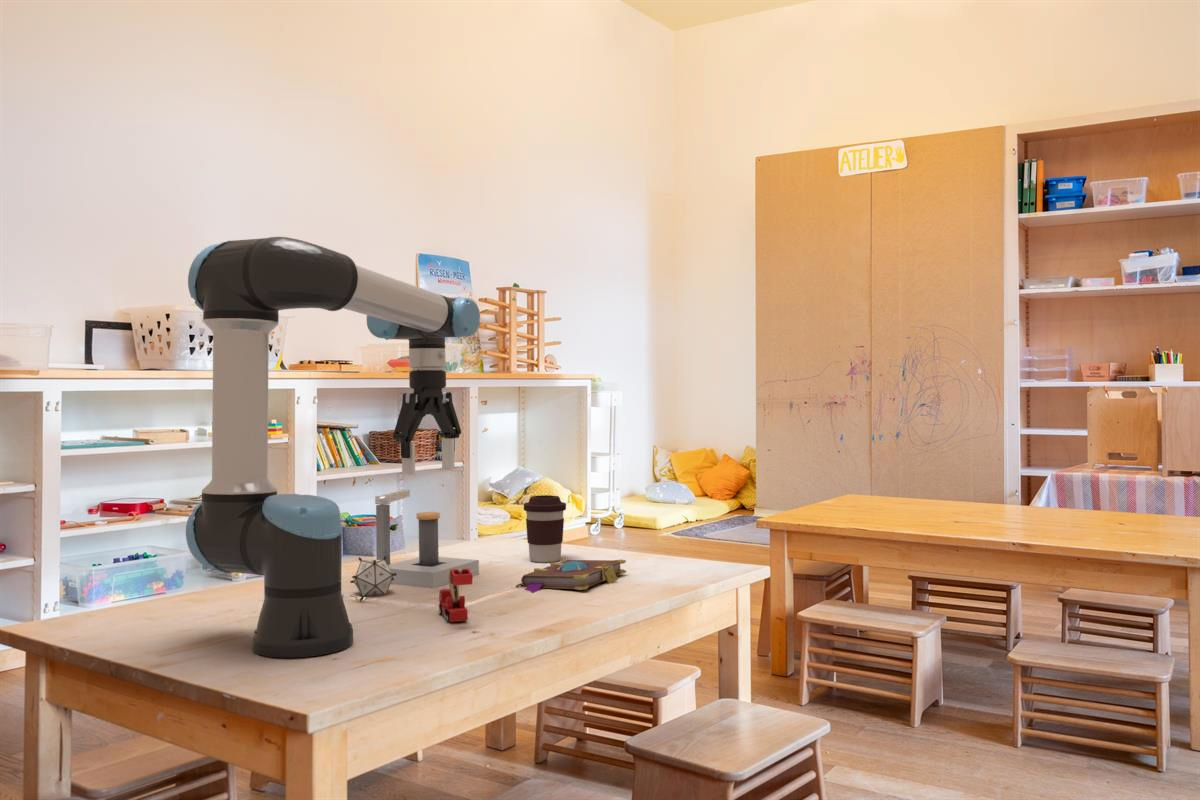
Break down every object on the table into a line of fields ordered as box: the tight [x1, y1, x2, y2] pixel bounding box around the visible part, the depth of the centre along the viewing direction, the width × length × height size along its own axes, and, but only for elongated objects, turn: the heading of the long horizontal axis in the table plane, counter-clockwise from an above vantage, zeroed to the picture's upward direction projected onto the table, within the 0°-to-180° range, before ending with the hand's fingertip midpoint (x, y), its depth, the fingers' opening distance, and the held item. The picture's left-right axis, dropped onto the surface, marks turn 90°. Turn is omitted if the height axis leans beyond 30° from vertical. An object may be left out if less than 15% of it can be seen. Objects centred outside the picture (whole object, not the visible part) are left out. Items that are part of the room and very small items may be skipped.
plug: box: [416, 511, 441, 567], centre depth 206 cm, size 5×5×14 cm
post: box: [375, 504, 391, 565], centre depth 212 cm, size 5×5×16 cm
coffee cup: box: [523, 494, 567, 564], centre depth 233 cm, size 10×10×15 cm
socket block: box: [388, 556, 480, 589], centre depth 206 cm, size 16×14×4 cm
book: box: [520, 558, 627, 594], centre depth 205 cm, size 16×25×5 cm, turn 155°
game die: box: [350, 556, 397, 602], centre depth 191 cm, size 9×8×10 cm
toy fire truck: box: [438, 568, 473, 623], centre depth 173 cm, size 3×14×10 cm, turn 21°
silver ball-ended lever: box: [374, 489, 411, 505], centre depth 218 cm, size 3×16×2 cm, turn 170°
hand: (429, 471), depth 206 cm, fingers open, 13 cm apart
